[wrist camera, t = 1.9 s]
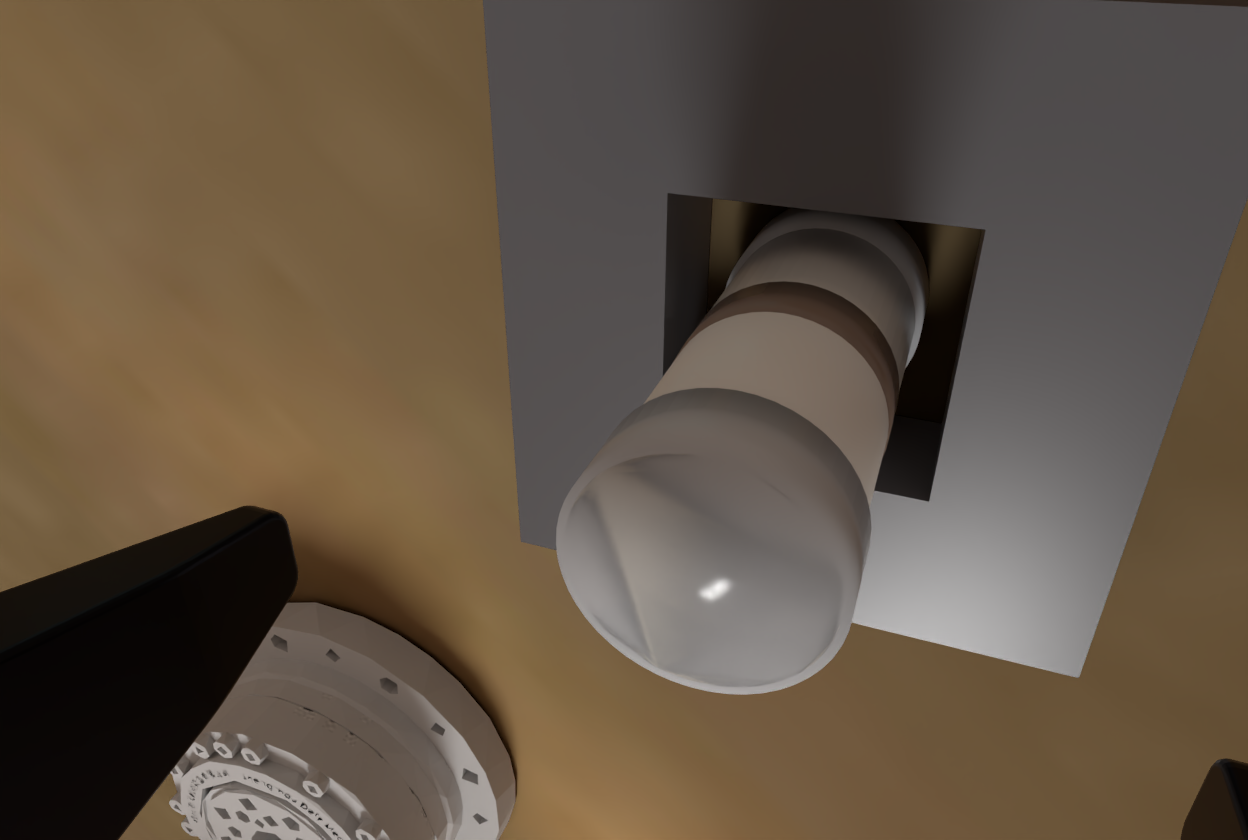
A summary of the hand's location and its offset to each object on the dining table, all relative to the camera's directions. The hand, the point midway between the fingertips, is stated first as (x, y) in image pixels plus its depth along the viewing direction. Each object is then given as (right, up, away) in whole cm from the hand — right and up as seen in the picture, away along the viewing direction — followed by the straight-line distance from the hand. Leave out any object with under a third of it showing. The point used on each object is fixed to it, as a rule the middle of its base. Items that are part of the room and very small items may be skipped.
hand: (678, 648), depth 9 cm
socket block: (+3, +4, +7) cm, 9 cm away
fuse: (+3, +4, +7) cm, 9 cm away
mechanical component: (-8, -7, +19) cm, 22 cm away
